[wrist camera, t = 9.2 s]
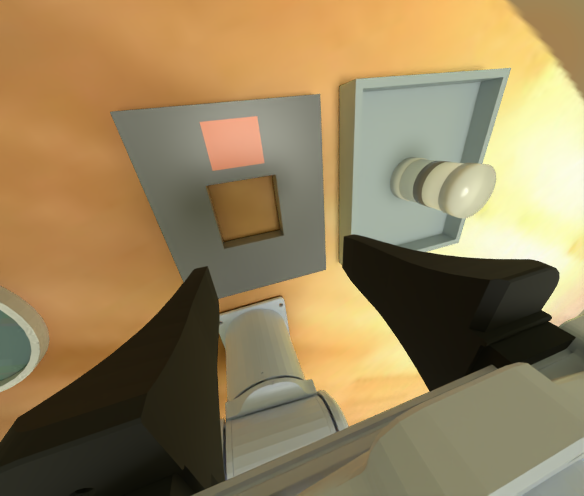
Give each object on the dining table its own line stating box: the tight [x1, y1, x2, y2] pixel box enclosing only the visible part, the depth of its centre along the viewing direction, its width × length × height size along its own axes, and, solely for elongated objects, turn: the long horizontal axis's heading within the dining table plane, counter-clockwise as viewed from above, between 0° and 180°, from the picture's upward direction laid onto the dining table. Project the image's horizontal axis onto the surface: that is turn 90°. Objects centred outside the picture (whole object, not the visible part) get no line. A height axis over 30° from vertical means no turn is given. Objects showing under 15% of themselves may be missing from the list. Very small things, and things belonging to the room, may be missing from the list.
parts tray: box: [339, 68, 511, 265], centre depth 22 cm, size 17×15×2 cm
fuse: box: [390, 157, 496, 218], centre depth 20 cm, size 4×4×7 cm
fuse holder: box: [110, 94, 326, 299], centre depth 19 cm, size 16×14×2 cm
